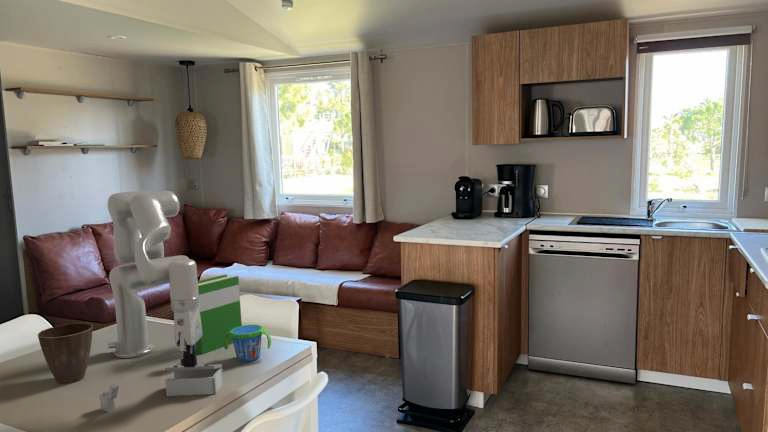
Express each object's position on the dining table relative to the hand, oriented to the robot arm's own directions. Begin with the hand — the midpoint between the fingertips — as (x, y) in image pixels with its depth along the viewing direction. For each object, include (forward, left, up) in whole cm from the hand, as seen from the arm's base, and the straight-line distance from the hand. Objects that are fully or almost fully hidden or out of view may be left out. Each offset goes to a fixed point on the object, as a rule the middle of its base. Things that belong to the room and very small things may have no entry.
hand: (190, 365), depth 160 cm
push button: (-9, +22, -8) cm, 25 cm away
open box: (0, +3, -8) cm, 9 cm away
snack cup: (+10, +27, -8) cm, 30 cm away
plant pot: (-43, +15, -8) cm, 47 cm away
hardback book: (-5, +42, -8) cm, 43 cm away
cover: (0, +3, -2) cm, 4 cm away
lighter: (-19, -9, -8) cm, 23 cm away
